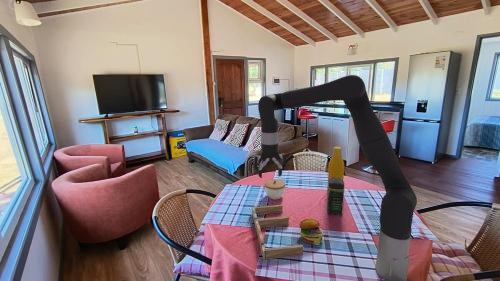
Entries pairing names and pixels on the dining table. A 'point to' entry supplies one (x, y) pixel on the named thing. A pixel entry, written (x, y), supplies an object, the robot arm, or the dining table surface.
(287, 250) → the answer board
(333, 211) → the coffee jar
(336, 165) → the beer bottle
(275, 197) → the lidded bowl
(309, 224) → the cheeseburger
